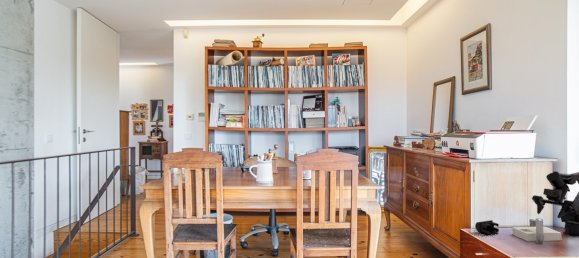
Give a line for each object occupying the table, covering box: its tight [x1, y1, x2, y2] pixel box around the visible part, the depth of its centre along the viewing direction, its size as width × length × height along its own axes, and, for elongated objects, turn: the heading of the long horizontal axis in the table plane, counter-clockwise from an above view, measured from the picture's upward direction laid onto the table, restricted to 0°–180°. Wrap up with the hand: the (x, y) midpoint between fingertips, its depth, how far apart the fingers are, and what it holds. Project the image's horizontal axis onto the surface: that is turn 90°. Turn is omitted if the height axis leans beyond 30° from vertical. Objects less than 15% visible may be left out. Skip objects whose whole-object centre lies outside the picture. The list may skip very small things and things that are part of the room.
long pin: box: [535, 218, 545, 245], centre depth 159 cm, size 3×3×12 cm
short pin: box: [528, 218, 536, 227], centre depth 177 cm, size 3×3×7 cm
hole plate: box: [511, 226, 563, 242], centre depth 168 cm, size 18×11×4 cm, turn 89°
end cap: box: [474, 219, 500, 237], centre depth 177 cm, size 10×7×7 cm
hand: (547, 215), depth 162 cm, fingers open, 9 cm apart
